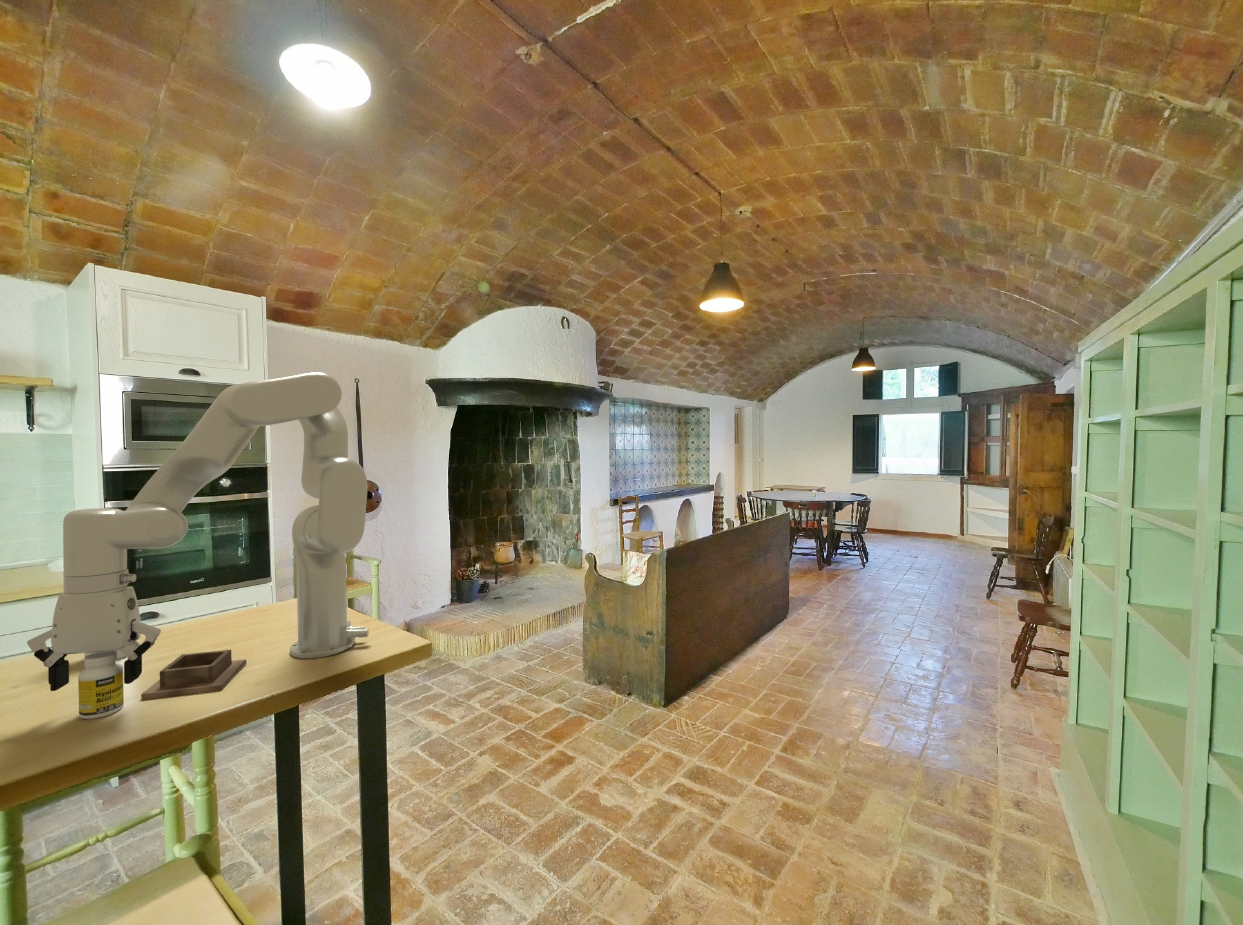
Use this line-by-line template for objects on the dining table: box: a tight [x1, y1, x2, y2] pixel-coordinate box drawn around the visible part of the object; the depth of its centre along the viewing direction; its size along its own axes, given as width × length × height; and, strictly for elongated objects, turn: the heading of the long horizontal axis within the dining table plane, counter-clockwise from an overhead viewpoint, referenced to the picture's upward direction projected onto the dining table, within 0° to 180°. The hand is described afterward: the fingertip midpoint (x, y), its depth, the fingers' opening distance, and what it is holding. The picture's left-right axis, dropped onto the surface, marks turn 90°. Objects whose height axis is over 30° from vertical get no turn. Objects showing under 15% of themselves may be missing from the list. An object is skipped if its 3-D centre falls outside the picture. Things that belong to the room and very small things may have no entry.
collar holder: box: [140, 649, 247, 701], centre depth 100 cm, size 12×12×4 cm
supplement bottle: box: [77, 651, 125, 720], centre depth 89 cm, size 5×5×10 cm
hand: (96, 684), depth 88 cm, fingers open, 9 cm apart
